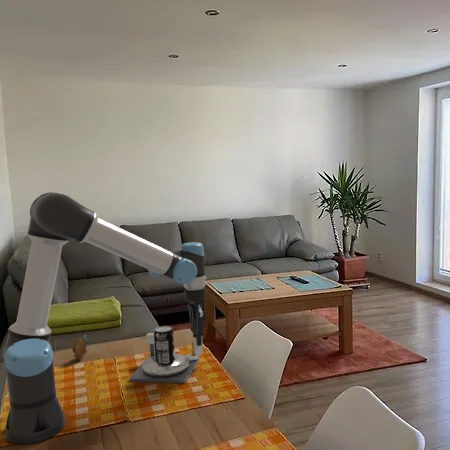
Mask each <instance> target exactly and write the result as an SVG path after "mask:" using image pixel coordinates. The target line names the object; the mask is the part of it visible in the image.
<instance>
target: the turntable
mask: <svg viewBox="0 0 450 450" xmlns="http://www.w3.org/2000/svg"><path fill="white" fill-rule="evenodd" d="M190 343H191V344H190V345H191V353H189V354H185V355H184V354H180V353H175V360H174V362H173V363H172V364H170V365H159V364H158V363H157V362H156V357H155V356H152V357H150V358H148V357H147V358H148V359H147V358H146V359H145V360H143V362H142V363H141V364H142V370H143V372H144V373H145V374H147V375H151V376H160V377H161V376H171V375H175V374H178V373H181V372H183V371H185V370H186V369H187V368H188V367H189V361H192V360H196V359H199V360H200V354H198V355H195V354H194V339H191V340H190Z"/></svg>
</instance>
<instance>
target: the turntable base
mask: <svg viewBox="0 0 450 450" xmlns="http://www.w3.org/2000/svg"><path fill="white" fill-rule="evenodd" d="M145 337H146V344H148V345H149V353H150V355H148V356H147V357H146V359H148V358H150V357H152V356H155V342H154V332H148V333H147V334H146V335H145ZM199 361H200V358H199V359H196V360H192V361H189V367H188V368H187V369H186V370H185V371H183V372H181V373H178V374H175V375H171V376H161V377H160V376H151V375H147V374H145V373H144V372H143V370H142V363H141V365H139V366H138V368H137V369H136V370H135V371H134V372H133V374H131V375H130V377H129V378H128V379H129V382H136V383H137V382H139V383H140V382H142V383H145V382H146V383H162V384H163V383H166V384H186V383H187V381H188V380H189V377H190V376H191V375H192V373H193V371H194V370H195V368H196V366H197V364H198V363H199Z"/></svg>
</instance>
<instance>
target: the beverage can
mask: <svg viewBox="0 0 450 450" xmlns="http://www.w3.org/2000/svg"><path fill="white" fill-rule="evenodd" d="M153 333H154V342H155V357H156V362H157V363H158V364H159V365H170V364H172V363H173V362H174V360H175V354H176V351H175V339H174V337H175V336H174V330H173V328H172V326H169V325H161V326H158V327H155V328H154V332H153Z"/></svg>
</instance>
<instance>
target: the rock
mask: <svg viewBox="0 0 450 450" xmlns="http://www.w3.org/2000/svg"><path fill="white" fill-rule="evenodd" d="M87 340H88V336H87V334H85V335H83V339H82V338H77V339H76V341H75V343H74V345H73V347H72V352H73V353H74V354H73V356H74V358H75V359H76V360H78V361H82V359H83V358H84V356H85V355H86V353H88V351H87V344H86V343H85V342H84V341H87Z"/></svg>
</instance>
